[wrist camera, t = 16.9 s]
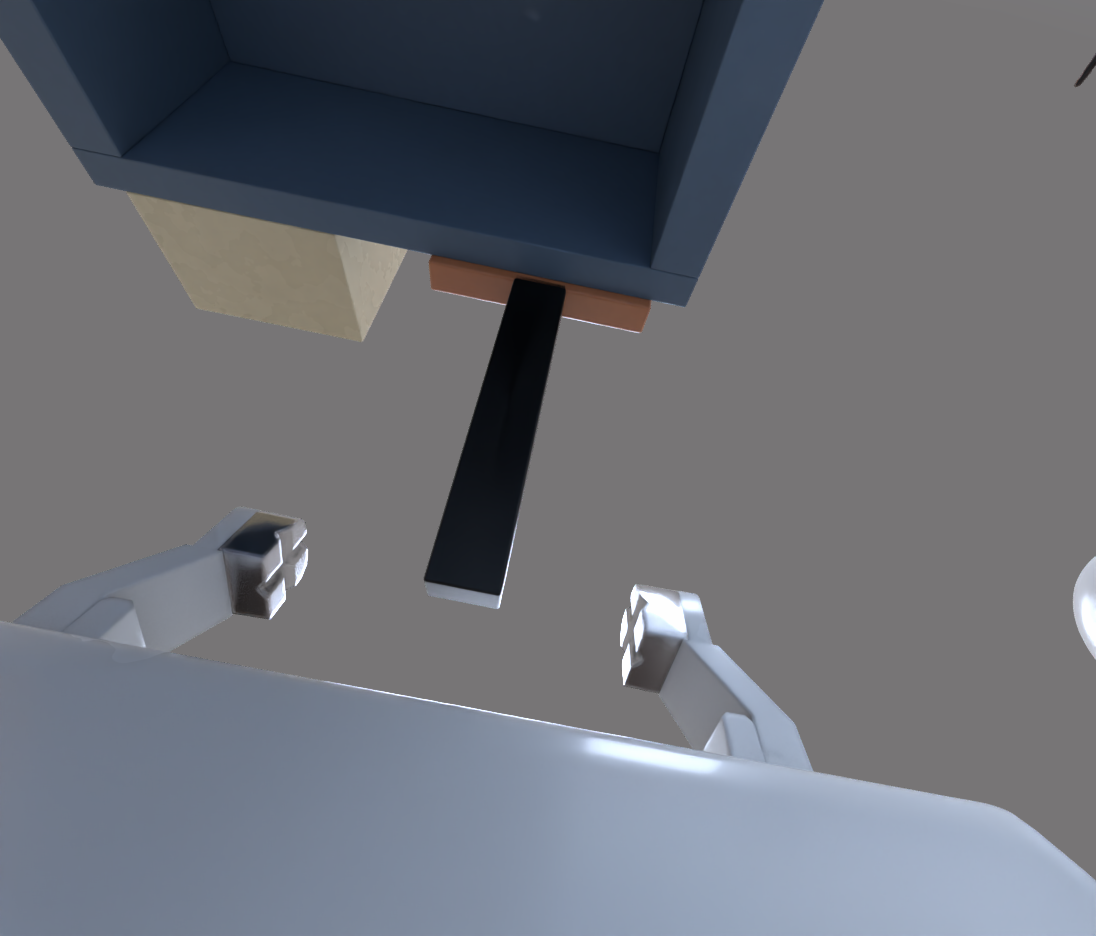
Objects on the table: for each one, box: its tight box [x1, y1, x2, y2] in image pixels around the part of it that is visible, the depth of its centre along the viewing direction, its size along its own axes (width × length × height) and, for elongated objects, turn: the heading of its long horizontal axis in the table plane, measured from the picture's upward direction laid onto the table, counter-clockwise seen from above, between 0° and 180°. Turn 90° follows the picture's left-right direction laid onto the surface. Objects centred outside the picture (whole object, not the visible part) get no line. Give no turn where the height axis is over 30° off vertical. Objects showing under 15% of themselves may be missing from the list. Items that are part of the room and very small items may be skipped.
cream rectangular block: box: [127, 191, 407, 342], centre depth 21 cm, size 7×7×5 cm
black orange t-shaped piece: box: [424, 255, 651, 609], centre depth 17 cm, size 18×8×2 cm, turn 9°
